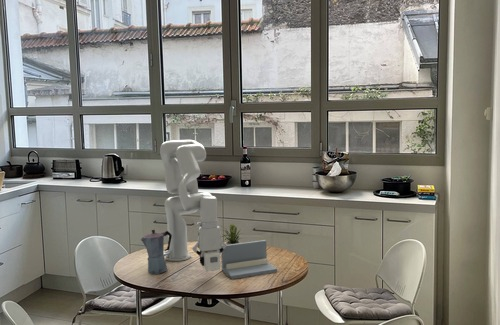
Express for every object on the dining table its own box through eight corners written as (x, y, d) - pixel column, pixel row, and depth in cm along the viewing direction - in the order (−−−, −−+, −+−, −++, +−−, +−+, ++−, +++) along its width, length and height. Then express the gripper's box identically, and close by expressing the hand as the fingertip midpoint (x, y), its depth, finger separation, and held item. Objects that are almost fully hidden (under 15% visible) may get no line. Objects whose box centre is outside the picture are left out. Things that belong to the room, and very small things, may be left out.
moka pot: (138, 272, 220) (136, 230, 218) (167, 264, 230) (165, 224, 228) (148, 277, 213) (145, 234, 211) (177, 269, 223) (175, 228, 220)
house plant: (215, 251, 250) (214, 221, 248) (240, 248, 254) (239, 218, 252) (222, 259, 236) (221, 227, 235) (248, 255, 241) (247, 224, 239)
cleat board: (231, 279, 208) (230, 253, 206) (222, 269, 221) (221, 245, 219) (277, 271, 215) (276, 247, 214) (265, 263, 228) (265, 239, 227)
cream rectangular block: (207, 272, 201) (207, 256, 200) (200, 262, 213) (199, 247, 212) (221, 270, 203) (220, 254, 202) (212, 260, 215) (212, 245, 214)
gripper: (191, 228, 200) (192, 269, 202) (230, 224, 206) (231, 263, 208) (187, 224, 207) (188, 263, 209) (225, 220, 213) (226, 258, 215)
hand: (209, 263), depth 209 cm, fingers closed on cream rectangular block, 6 cm apart
